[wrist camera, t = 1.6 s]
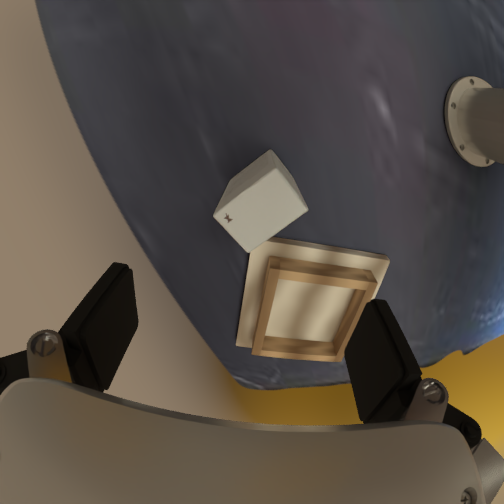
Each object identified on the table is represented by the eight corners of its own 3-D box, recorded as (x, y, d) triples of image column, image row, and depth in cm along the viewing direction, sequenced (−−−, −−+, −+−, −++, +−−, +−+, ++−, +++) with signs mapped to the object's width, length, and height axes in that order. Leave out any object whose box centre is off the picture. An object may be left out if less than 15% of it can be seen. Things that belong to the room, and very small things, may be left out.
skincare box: (253, 207, 33) (246, 256, 22) (229, 179, 31) (209, 216, 21) (294, 176, 31) (310, 211, 20) (271, 146, 29) (275, 165, 19)
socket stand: (386, 255, 35) (398, 272, 31) (344, 349, 43) (349, 369, 39) (253, 233, 34) (251, 250, 30) (236, 338, 42) (234, 360, 39)
